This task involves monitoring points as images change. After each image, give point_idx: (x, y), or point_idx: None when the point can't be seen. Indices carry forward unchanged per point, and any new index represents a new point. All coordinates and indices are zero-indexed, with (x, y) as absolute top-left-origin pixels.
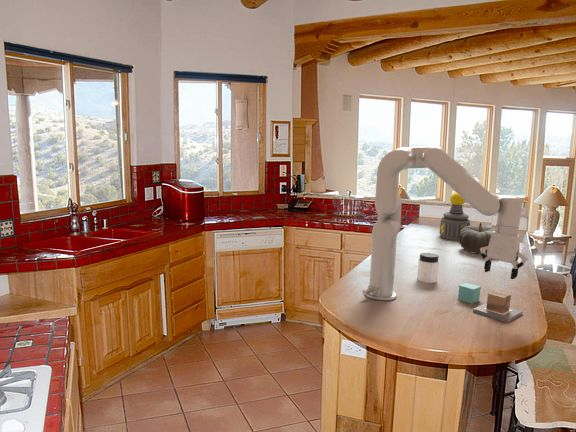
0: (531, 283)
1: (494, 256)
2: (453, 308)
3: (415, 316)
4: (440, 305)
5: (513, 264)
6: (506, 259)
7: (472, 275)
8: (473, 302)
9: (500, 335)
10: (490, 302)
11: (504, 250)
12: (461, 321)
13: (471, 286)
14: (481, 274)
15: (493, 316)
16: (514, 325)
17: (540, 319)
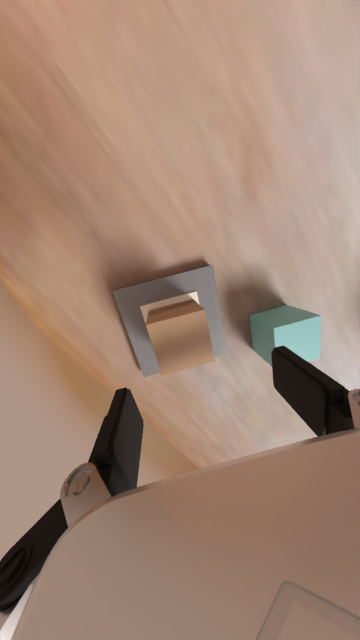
0: None
1: (339, 479)
2: (253, 232)
3: (274, 9)
4: (287, 214)
5: (93, 505)
6: (138, 534)
7: None
8: (250, 322)
9: (36, 172)
10: (186, 305)
11: None
12: (170, 153)
13: (293, 344)
14: None
15: (152, 280)
16: (91, 289)
17: (103, 384)
